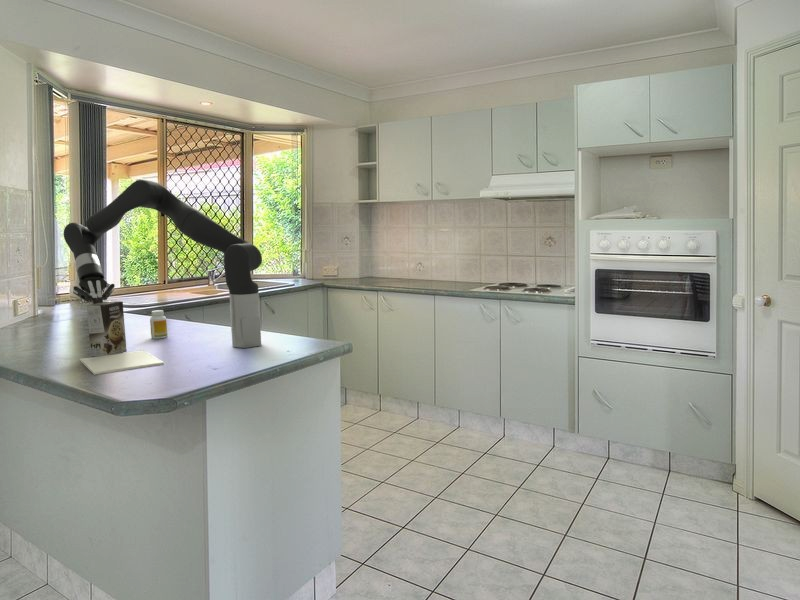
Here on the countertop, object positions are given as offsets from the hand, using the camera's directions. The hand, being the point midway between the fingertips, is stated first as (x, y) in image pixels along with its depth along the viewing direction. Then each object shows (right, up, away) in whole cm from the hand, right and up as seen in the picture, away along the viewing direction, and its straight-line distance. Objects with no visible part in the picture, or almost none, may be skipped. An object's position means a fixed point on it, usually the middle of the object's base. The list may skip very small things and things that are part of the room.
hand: (99, 308), depth 192 cm
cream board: (+16, -15, -20) cm, 30 cm away
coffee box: (+6, -14, -6) cm, 17 cm away
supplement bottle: (+12, -11, +20) cm, 25 cm away
